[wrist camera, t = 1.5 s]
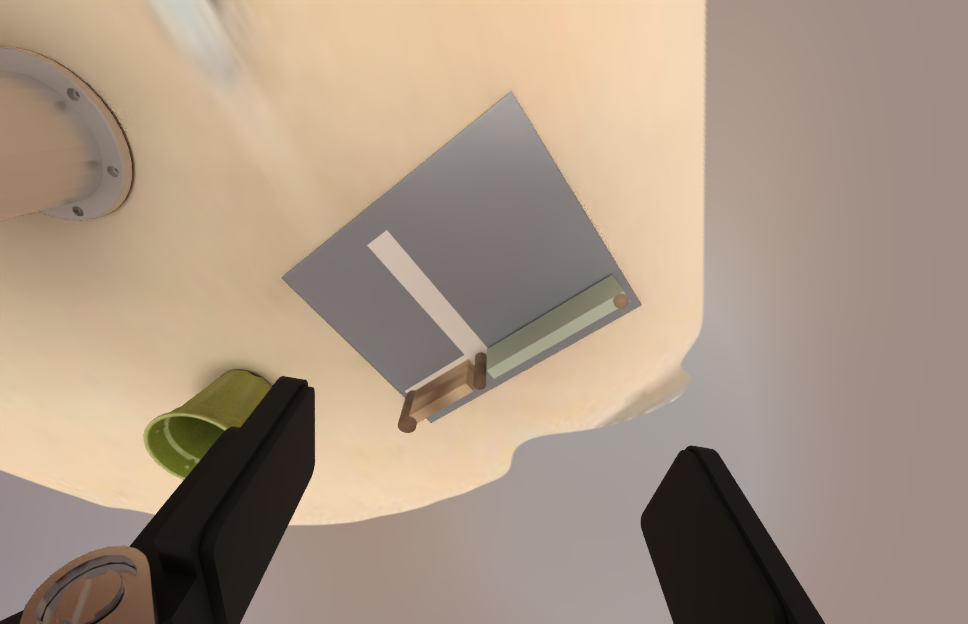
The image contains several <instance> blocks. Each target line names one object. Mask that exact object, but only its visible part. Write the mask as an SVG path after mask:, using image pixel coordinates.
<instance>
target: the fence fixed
mask: <svg viewBox="0 0 968 624" xmlns="http://www.w3.org/2000/svg"><path fill="white" fill-rule="evenodd" d="M486 368H487V356H486V354H485V353H482V352H480V353H477V354H476V356H475V366H474V365H473V364H472V363H471V361H470V360H469V359H467V360H465V361H464V362H462V363H460V364H459V365H457V366H455V367H454V368H452V369H450V370H449V371H447V372H445V373H444V374H442V375H440V376H439V377H437V378H435V379H434V380H432V381H430V382H429V383H427V384H425V385H424V386H422V387H420V388H419V389H417V390H411V391H409V392H408V393H407V395H406V398H405V402H404V405H403V409H402V412H401V415H400V419H399V422H398V428H399V429H400V430H401V431H402V432H405V433H411V432H413V431H414V430H415V429H416V425H417V423H418V422H420V421H422V420H424V419H425V418H427V417H429V416H431V415H432V414H434V413H436V412H438V411H439V410H441V409H443V408H445V407H447V406H448V405H450V404H452V403H454V402H455V401H457V400H459V399H461V398H462V397H464V396H466V395H468V394H469V393H471V392H473V390H474V388H476V389H478V390H482V389H484V388H485V387H486Z"/></svg>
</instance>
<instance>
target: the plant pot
mask: <svg viewBox="0 0 968 624" xmlns="http://www.w3.org/2000/svg"><path fill="white" fill-rule="evenodd" d="M270 389H271V386H270V385H269V384H268V382H267V381H265V380H264V379H263V378H261V377H257V376H254V375H252V374H251V373H249V372H248V371H243V370H234V371H229V372H227V373H225V374H223V375H222V376H221V377H220V378H218V379H217V380H216V381H214V382H213V383H212V384H210V385H209V386H208V387H206V388H205V389H204V390H202V391H201V392H200V393H199V394H197V395H196V396H195V397H193V398H192V399H191V400H189V401H188V402H187V403H185V404H184V405H183V406H181V407H179V408H177V409H175V410H173V411H171V412H169V413H165V414H162V415H160V416H158V417H157V418H155V419H154V420H152V421H151V422H150V423H149V424H148V425H147V427H146V428H145V431H144V435H143V436H144V443H145V447H146V449H147V451H148V453H149V454H150V456H151V457H152V458H153V459H154V461H155V462H156V463H157V464H158V465H159V466H161V467H162V468H164V469H165V470H166V471H167V472H169V473H171V474H172V475H174V476H176V477H179V478H181V479H183V480H184V479H185V478H186V477H187V476H188V474H189V473H190V472H191V471H192V470H193V468H194V467H195V466H196V465H197V463H198V462H199V461H200V460H201V459H202V457H203V456H204V455H205V454H206V452H207V451H208V450H209V449H210V448H211V446H212V445H213V444H214V443H215V441H216V440H217V439H218V438H219V437H220V435H221V434H222V433H223V432H224V431H225V430H226V429H228V428H230V427H231V426H233V427H241V426H242V425H243V423H244V422H245V421H246V419H247V418H248V417H249V416H250V414H251V413H252V412H253V410H254V409H255V408H256V407H257V405H258V404H259V403H260V401H261V400H262V399H263V398H264V396H265V395H266V394H267V392H268V391H269V390H270Z"/></svg>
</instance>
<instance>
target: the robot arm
mask: <svg viewBox="0 0 968 624" xmlns="http://www.w3.org/2000/svg"><path fill="white" fill-rule="evenodd" d="M131 181H132V162H131V158H130V153H129V149H128V146H127V143H126V141H125V138H124V136H123V133H122V131H121V129H120V127H119V126H118V124H117V122H116V120H115V119H114V117H113V115H112V114H111V112H110V111H109V110H108V109H107V107H106V106H105V105H104V103H103V102H102V101H101V99H100V98H99V97H98V96H97V95H96V94H95V93H94V92H93V91H92V90H91V89H90V88H89V87H88V86H87V85H86V84H85V83H84V82H83V81H81V80H80V79H79V78H78V77H77V76H75V75H74V74H73V73H72V72H70V71H69V70H67V69H66V68H64V67H62V66H61V65H59V64H58V63H56V62H54V61H53V60H51V59H48V58H46V57H44V56H42V55H39V54H37V53H35V52H31V51H27V50H23V49H19V48H13V47H3V46H0V221H1V220H5V219H9V218H13V217H17V216H21V215H25V214H29V213H34V212H41V213H44V214H46V215H49V216H52V217H56V218H60V219H65V220H79V221H82V220H88V219H94V218H97V217H100V216H103V215H106V214H108V213H110V212H112V211H113V210H115V209H117V208H118V207H119V206H120V205H121V204H122V202H123V201H124V200H125V198H126V196H127V194H128V192H129V190H130V186H131ZM314 466H315V391H314V388H313V387H308V382H307V381H306V380H303V379H297V378H291V377H285V376H282V377H280V378H279V379H278V380H277V381H276V382H275V383H274V385H273V386H272V387H271V389H270V390H269V391H268V392H267V394H266V395H265V396H264V398H263V399H262V400H261V401H260V403H259V404H258V405H257V407H256V408H255V409H254V410H253V412H252V413H251V414H250V416H249V417H248V418H247V419H246V421H245V422H244V423H243V425H242V426H241V427H233V426H231V427H230V428H228V429H226V430H225V431H224V432H223V433H222V434H221V435H220V437H219V438H218V439H217V440H216V441H215V443H214V444H213V445H212V446H211V448H210V449H209V450H208V451H207V452H206V454H205V455H204V456H203V457H202V459H201V460H200V461H199V462H198V463H197V465H196V466H195V467H194V468H193V470H192V471H191V472H190V473H189V474H188V476H187V477H186V478H185V479H184V481H183V482H182V483H181V484H180V485H179V487H178V488H177V489H176V490H175V491H174V493H173V494H172V495H171V496H170V498H169V499H168V500H167V501H166V502H165V504H164V505H163V506H162V507H161V509H160V510H159V511H158V512H157V513H156V515H155V516H154V517H153V518H152V520H151V521H150V522H149V523H148V524H147V526H146V527H145V528H144V529H143V531H142V532H141V533H140V534H139V535H138V537H137V538H136V539H135V540H134V542H133V543H132V544H131V545H130V546H129V547H128V546H112V547H106V548H102V549H98V550H95V551H91V552H89V553H87V554H85V555H83V556H80V557H78V558H76V559H74V560H72V561H70V562H69V563H67V564H66V565H64V566H63V567H62V568H60V569H59V570H57V571H56V572H54V573H53V574H52V575H51V576H50V577H49V578H48V579H47V580H46V581H45V582H44V583H43V584H41V585H40V587H38V588H37V589H36V591H35V592H34V594H33V595H32V597H31V598H30V600H29V601H28V603H27V604H26V605H25V608H24V610H23V611H21V612H19V613H17V614H14V615H12V616H10V617H8V618H6V619H4V620H2V621H0V624H240V622H241V620H242V618H243V616H244V614H245V612H246V610H247V608H248V606H249V604H250V602H251V600H252V598H253V596H254V594H255V592H256V590H257V588H258V586H259V584H260V582H261V579H262V577H263V575H264V573H265V571H266V569H267V567H268V565H269V563H270V561H271V559H272V557H273V555H274V553H275V551H276V548H277V546H278V545H279V542H280V541H281V538H282V536H283V534H284V532H285V530H286V528H287V526H288V524H289V522H290V520H291V518H292V516H293V514H294V512H295V510H296V508H297V506H298V504H299V502H300V500H301V497H302V495H303V493H304V491H305V489H306V487H307V485H308V483H309V481H310V479H311V477H312V474H313V470H314ZM641 528H642V531H643V535H644V538H645V541H646V544H647V547H648V549H649V553H650V555H651V558H652V561H653V564H654V567H655V570H656V573H657V576H658V579H659V582H660V585H661V588H662V591H663V594H664V597H665V600H666V602H667V606H668V609H669V611H670V614H671V617H672V620H673V623H674V624H825V623H824V621H823V619H822V618H821V616H820V615H819V613H818V611H817V610H816V608H815V607H814V605H813V604H812V602H811V601H810V599H809V597H808V596H807V594H806V592H805V591H804V589H803V588H802V586H801V585H800V583H799V581H798V580H797V578H796V577H795V575H794V573H793V572H792V570H791V569H790V567H789V565H788V564H787V562H786V561H785V559H784V557H783V556H782V554H781V553H780V551H779V549H778V548H777V546H776V545H775V543H774V542H773V540H772V538H771V537H770V535H769V534H768V532H767V530H766V529H765V527H764V526H763V524H762V522H761V521H760V519H759V518H758V516H757V514H756V513H755V511H754V510H753V508H752V506H751V505H750V503H749V502H748V500H747V499H746V497H745V495H744V494H743V492H742V491H741V489H740V487H739V486H738V484H737V483H736V481H735V479H734V478H733V476H732V475H731V473H730V471H729V470H728V468H727V467H726V465H725V464H724V462H723V460H722V459H721V457H720V456H719V454H718V453H717V452H716V451H715V450H713V449H709V448H703V447H697V446H688V447H687V448H686V449H685V450H682V451H680V452H679V454H678V455H677V457H676V459H675V460H674V462H673V464H672V465H671V467H670V469H669V470H668V472H667V474H666V475H665V477H664V479H663V480H662V482H661V484H660V485H659V487H658V489H657V490H656V492H655V494H654V495H653V497H652V499H651V500H650V502H649V504H648V505H647V507H646V509H645V510H644V512H643V514H642V516H641Z"/></svg>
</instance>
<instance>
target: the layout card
mask: <svg viewBox="0 0 968 624" xmlns="http://www.w3.org/2000/svg"><path fill="white" fill-rule="evenodd" d="M610 275H613V276H614V278H615V279H616V281H617V282H618V284H619V285H620V287H621V288H622V290H623V291H624V293H625V294H626V296H627V297H628V299H629V301H630V302H629V304H628V306H627V307H625V308H623V309H619V308H618V309H616V310H615V311H613V312H611V313H609V314H608V315H606V316H604V317H602V318H601V319H599V320H597V321H595V322H594V323H592V324H590V325H588V326H586V327H585V328H583V329H581V330H579V331H578V332H576V333H574V334H572V335H571V336H569V337H567V338H565V339H564V340H562V341H560V342H558V343H556V344H555V345H553V346H551V347H549V348H548V349H546V350H544V351H542V352H541V353H539V354H537V355H535V356H534V357H532V358H530V359H528V360H527V361H525V362H523V363H521V364H519V365H518V366H516V367H514V368H512V369H511V370H509V371H507V372H505V373H504V374H502V375H500V376H498V377H497V378H495V379H494V378H493V377H492V376H491V375H490V374H489V373H488V372H487V371H486V387H485V388H484V389H482V390H478V389H476V388H474V390H473V392H471V393H469V394H468V395H466V396H464V397H462V398H461V399H459V400H457V401H455V402H454V403H452V404H450V405H448V406H447V407H445V408H443V409H441V410H439V411H438V412H436V413H434V414H432V415H431V416H429V417H427V418H426V419H427V420H428V421H429V422H430V423H432V422H434V421H435V420H437V419H439V418H441V417H442V416H444V415H446V414H448V413H450V412H451V411H453V410H455V409H457V408H459V407H460V406H462V405H464V404H466V403H468V402H469V401H471V400H473V399H475V398H476V397H478V396H480V395H482V394H484V393H485V392H487V391H489V390H491V389H493V388H494V387H496V386H498V385H500V384H502V383H503V382H505V381H507V380H509V379H510V378H512V377H514V376H516V375H518V374H519V373H521V372H523V371H525V370H527V369H528V368H530V367H532V366H534V365H535V364H537V363H539V362H541V361H543V360H544V359H546V358H548V357H550V356H552V355H553V354H555V353H557V352H559V351H561V350H562V349H564V348H566V347H568V346H569V345H571V344H573V343H575V342H577V341H578V340H580V339H582V338H584V337H586V336H587V335H589V334H591V333H593V332H594V331H596V330H598V329H600V328H602V327H603V326H605V325H607V324H609V323H611V322H612V321H614V320H616V319H618V318H620V317H621V316H623V315H625V314H627V313H628V312H630V311H632V310H634V309H636V308H637V307H639V306H641V303H640V301H639V300H638V298H637V297H636V295H635V293H634V292H633V290H632V288H631V287H630V285H629V283H628V282H627V280H626V278H625V277H624V275H623V274H622V272H621V270H620V269H619V267H618V265H617V264H616V262H615V260H614V259H613V257H612V256H611V254H610V252H609V251H608V249H607V247H606V246H605V244H604V242H603V241H602V239H601V237H600V236H599V234H598V233H597V231H596V229H595V228H594V226H593V224H592V223H591V221H590V219H589V218H588V216H587V214H586V213H585V211H584V210H583V208H582V206H581V205H580V203H579V201H578V200H577V198H576V196H575V195H574V193H573V192H572V190H571V188H570V187H569V185H568V183H567V182H566V180H565V178H564V177H563V175H562V173H561V172H560V170H559V169H558V167H557V165H556V164H555V162H554V160H553V159H552V157H551V155H550V154H549V152H548V151H547V149H546V147H545V146H544V144H543V142H542V141H541V139H540V137H539V136H538V134H537V132H536V131H535V129H534V128H533V126H532V124H531V123H530V121H529V119H528V118H527V116H526V114H525V113H524V111H523V110H522V108H521V106H520V105H519V103H518V101H517V100H516V98H515V96H514V95H513V93H512V91H511V92H510V93H508V94H507V95H506V96H505V97H503V98H502V99H501V100H500V101H499V102H497V103H496V104H495V105H494V106H492V107H491V108H490V109H489V110H487V111H486V112H485V113H484V114H483V115H481V116H480V117H479V118H478V119H476V120H475V121H474V122H473V123H471V124H470V125H469V126H468V127H467V128H465V129H464V130H463V131H462V132H460V133H459V134H458V135H457V136H455V137H454V138H453V139H452V140H450V141H449V142H448V143H447V144H446V145H444V146H443V147H442V148H441V149H439V150H438V151H437V152H436V153H434V154H433V155H432V156H431V157H430V158H428V159H427V160H426V161H425V162H423V163H422V164H421V165H420V166H418V167H417V168H416V169H415V170H414V171H412V172H411V173H410V174H409V175H407V176H406V177H405V178H404V179H402V180H401V181H400V182H399V183H397V184H396V185H395V186H394V187H393V188H391V189H390V190H389V191H388V192H386V193H385V194H384V195H383V196H381V197H380V198H379V199H378V200H377V201H375V202H374V203H373V204H372V205H370V206H369V207H368V208H367V209H365V210H364V211H363V212H362V213H361V214H359V215H358V216H357V217H356V218H354V219H353V220H352V221H351V222H349V223H348V224H347V225H346V226H344V227H343V228H342V229H341V230H340V231H338V232H337V233H336V234H335V235H333V236H332V237H331V238H330V239H328V240H327V241H326V242H325V243H324V244H322V245H321V246H320V247H319V248H317V249H316V250H315V251H314V252H312V253H311V254H310V255H309V256H308V257H306V258H305V259H304V260H303V261H301V262H300V263H299V264H298V265H296V266H295V267H294V268H293V269H291V270H290V271H289V272H288V273H287V274H285V275H284V276H283V277H282V279H283V280H284V281H285V282H286V283H287V284H288V285H289V286H290V287H291V288H292V289H293V290H294V291H295V292H296V293H297V294H298V295H299V296H300V297H301V298H303V299H304V300H305V301H306V302H307V303H308V304H309V305H310V306H311V307H312V308H313V309H314V310H315V311H316V312H317V313H318V314H319V315H320V316H321V317H322V318H323V319H324V320H325V321H326V322H327V323H328V324H329V325H330V326H331V327H332V328H333V329H335V330H336V331H337V332H338V333H339V334H340V335H341V336H342V337H343V338H344V339H345V340H346V341H347V342H348V343H349V344H350V345H351V346H352V347H353V348H354V349H355V350H356V351H357V352H358V353H359V354H360V355H361V356H362V357H363V358H364V359H365V360H366V361H368V362H369V363H370V364H371V365H372V366H373V367H374V368H375V369H376V370H377V371H378V372H379V373H380V374H381V375H382V376H383V377H384V378H385V379H386V380H387V381H388V382H389V383H390V384H391V385H392V386H393V387H394V388H395V389H396V390H397V391H398V392H400V393H401V394H402V395H403V396H404V397H405V398H406V395H407V393H408V392H409V391H411V390H417V389H419V388H420V387H422V386H424V385H425V384H427V383H429V382H430V381H432V380H434V379H435V378H437V377H439V376H440V375H442V374H444V373H445V372H447V371H449V370H450V369H452V368H454V367H455V366H457V365H459V364H460V363H462V362H464V361H465V360H467V359H469V360H470V361H471V363H472V364H473V365H474V366H475V356H476V354H477V353H480V352H482V353H485V354H486V356H487V349H488V348H490V347H491V346H493V345H495V344H496V343H498V342H500V341H501V340H503V339H505V338H506V337H508V336H510V335H511V334H513V333H515V332H516V331H518V330H520V329H521V328H523V327H525V326H527V325H528V324H530V323H532V322H533V321H535V320H537V319H538V318H540V317H542V316H543V315H545V314H547V313H548V312H550V311H552V310H553V309H555V308H557V307H558V306H560V305H562V304H563V303H565V302H567V301H568V300H570V299H572V298H573V297H575V296H577V295H578V294H580V293H582V292H583V291H585V290H587V289H588V288H590V287H592V286H593V285H595V284H597V283H598V282H600V281H602V280H604V279H605V278H607V277H609V276H610Z"/></svg>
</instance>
